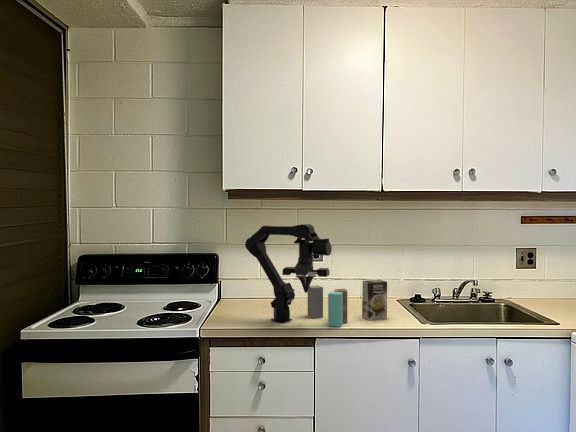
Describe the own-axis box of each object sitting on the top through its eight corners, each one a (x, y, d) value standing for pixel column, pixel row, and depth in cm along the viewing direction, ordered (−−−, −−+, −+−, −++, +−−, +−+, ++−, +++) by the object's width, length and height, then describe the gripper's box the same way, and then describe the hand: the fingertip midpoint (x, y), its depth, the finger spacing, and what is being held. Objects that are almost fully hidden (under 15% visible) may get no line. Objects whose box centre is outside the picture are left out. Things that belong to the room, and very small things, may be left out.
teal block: (328, 325, 178) (328, 293, 178) (330, 322, 183) (330, 291, 183) (340, 326, 177) (340, 294, 177) (342, 323, 182) (342, 292, 181)
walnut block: (335, 322, 184) (335, 291, 184) (334, 319, 189) (334, 288, 189) (347, 322, 184) (347, 291, 183) (346, 319, 189) (346, 288, 188)
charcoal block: (312, 318, 191) (312, 288, 190) (307, 315, 195) (307, 286, 195) (323, 316, 193) (323, 287, 192) (317, 314, 197) (317, 285, 197)
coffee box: (368, 320, 187) (368, 282, 187) (361, 317, 193) (361, 280, 193) (387, 319, 190) (387, 281, 189) (380, 315, 196) (380, 279, 195)
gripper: (277, 256, 177) (278, 295, 177) (323, 257, 171) (323, 297, 171) (286, 253, 187) (286, 290, 188) (329, 254, 181) (330, 292, 182)
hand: (306, 292), depth 182 cm, fingers closed
